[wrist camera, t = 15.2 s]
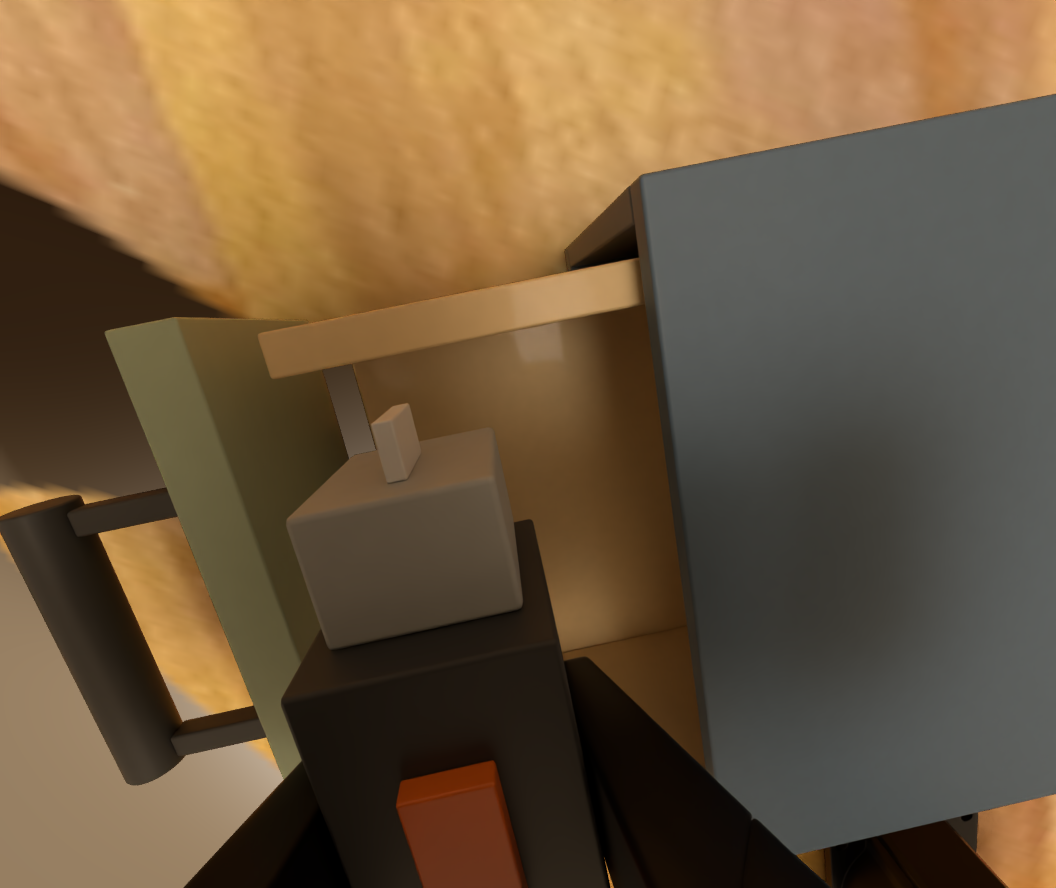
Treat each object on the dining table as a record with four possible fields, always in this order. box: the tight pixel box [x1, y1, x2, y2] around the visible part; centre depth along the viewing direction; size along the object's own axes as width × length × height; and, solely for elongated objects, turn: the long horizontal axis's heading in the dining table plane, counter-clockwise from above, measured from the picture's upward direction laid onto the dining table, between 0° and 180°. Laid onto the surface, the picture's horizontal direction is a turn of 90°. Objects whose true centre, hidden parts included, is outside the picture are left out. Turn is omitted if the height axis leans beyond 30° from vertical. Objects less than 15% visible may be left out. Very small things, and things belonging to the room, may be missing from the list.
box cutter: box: [281, 403, 610, 888], centre depth 7 cm, size 8×3×4 cm, turn 11°
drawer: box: [0, 258, 706, 785], centre depth 13 cm, size 18×13×6 cm
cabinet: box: [565, 94, 1056, 855], centre depth 13 cm, size 14×14×8 cm
